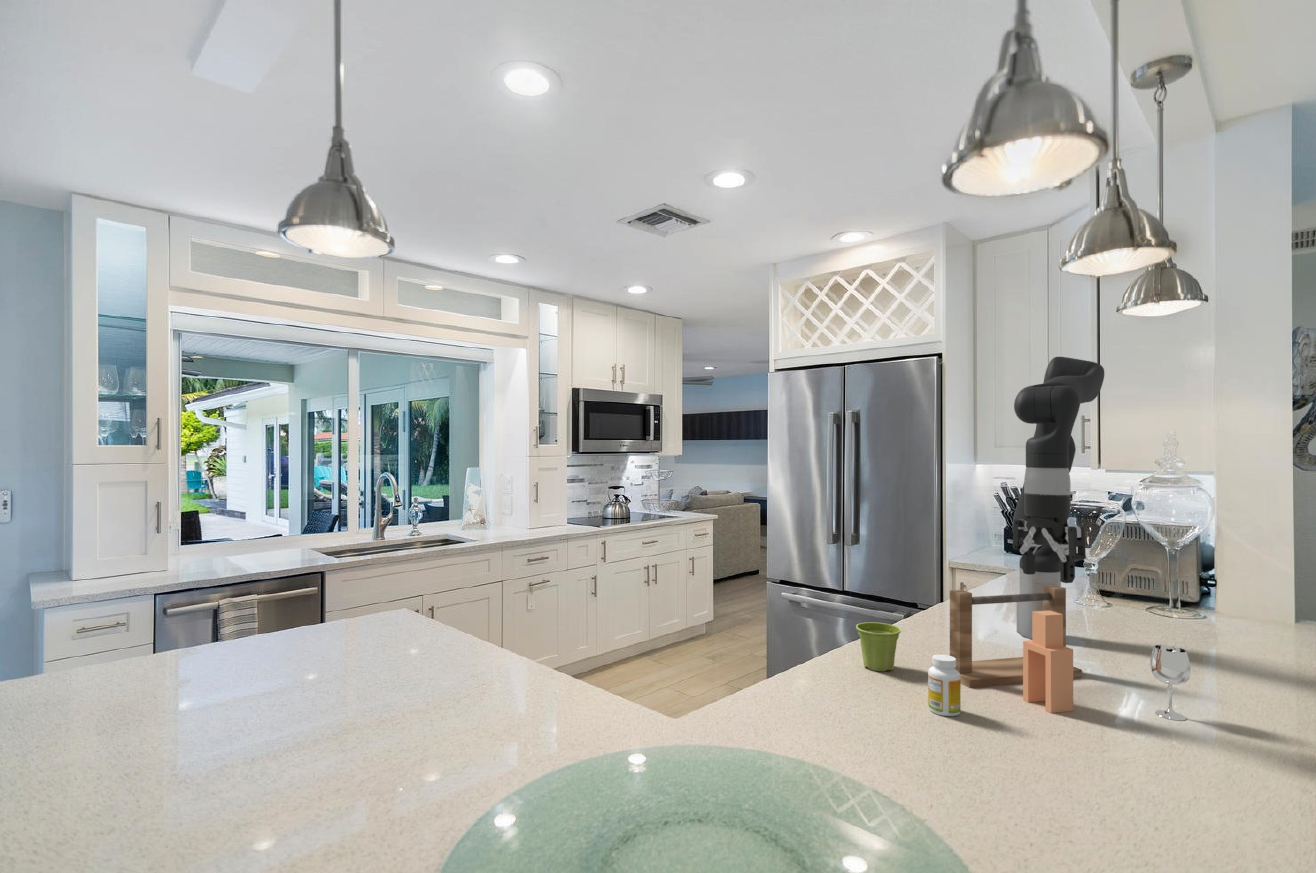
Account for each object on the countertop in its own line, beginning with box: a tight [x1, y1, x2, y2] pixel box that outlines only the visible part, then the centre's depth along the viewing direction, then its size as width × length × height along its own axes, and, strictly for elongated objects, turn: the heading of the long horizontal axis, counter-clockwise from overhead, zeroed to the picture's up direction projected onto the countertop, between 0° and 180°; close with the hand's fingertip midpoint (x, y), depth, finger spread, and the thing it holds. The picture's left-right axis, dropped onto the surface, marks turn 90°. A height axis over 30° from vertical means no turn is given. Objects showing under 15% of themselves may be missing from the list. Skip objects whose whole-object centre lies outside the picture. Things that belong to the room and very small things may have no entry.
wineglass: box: [1149, 644, 1192, 721], centre depth 118 cm, size 6×6×12 cm
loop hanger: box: [1022, 610, 1074, 714], centre depth 122 cm, size 6×5×17 cm
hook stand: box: [949, 585, 1083, 689], centre depth 139 cm, size 10×28×18 cm, turn 104°
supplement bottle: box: [927, 654, 962, 717], centre depth 119 cm, size 5×5×10 cm
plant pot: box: [855, 621, 902, 673], centre depth 143 cm, size 9×9×9 cm
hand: (1047, 578), depth 123 cm, fingers open, 8 cm apart
